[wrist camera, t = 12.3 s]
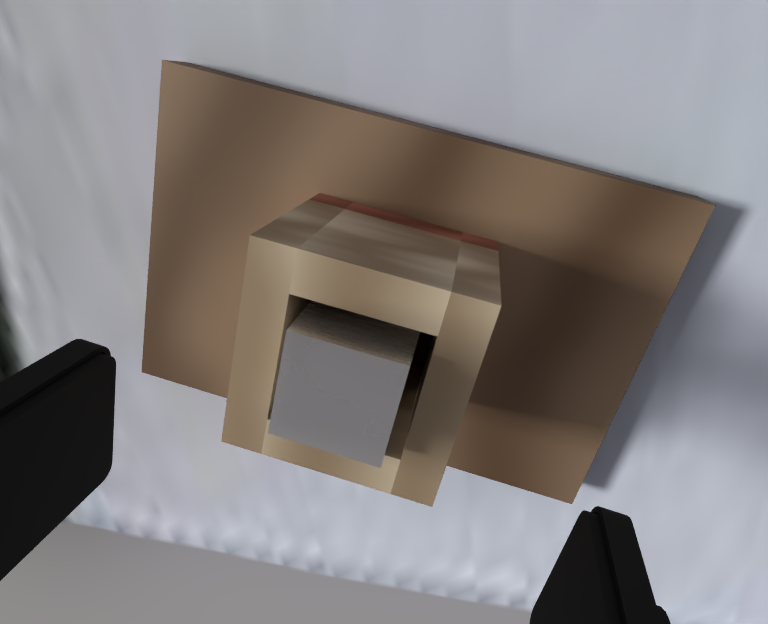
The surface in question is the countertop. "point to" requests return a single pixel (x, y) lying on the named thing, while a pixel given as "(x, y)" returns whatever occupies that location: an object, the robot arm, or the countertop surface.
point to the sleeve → (376, 300)
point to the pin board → (433, 205)
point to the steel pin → (341, 382)
